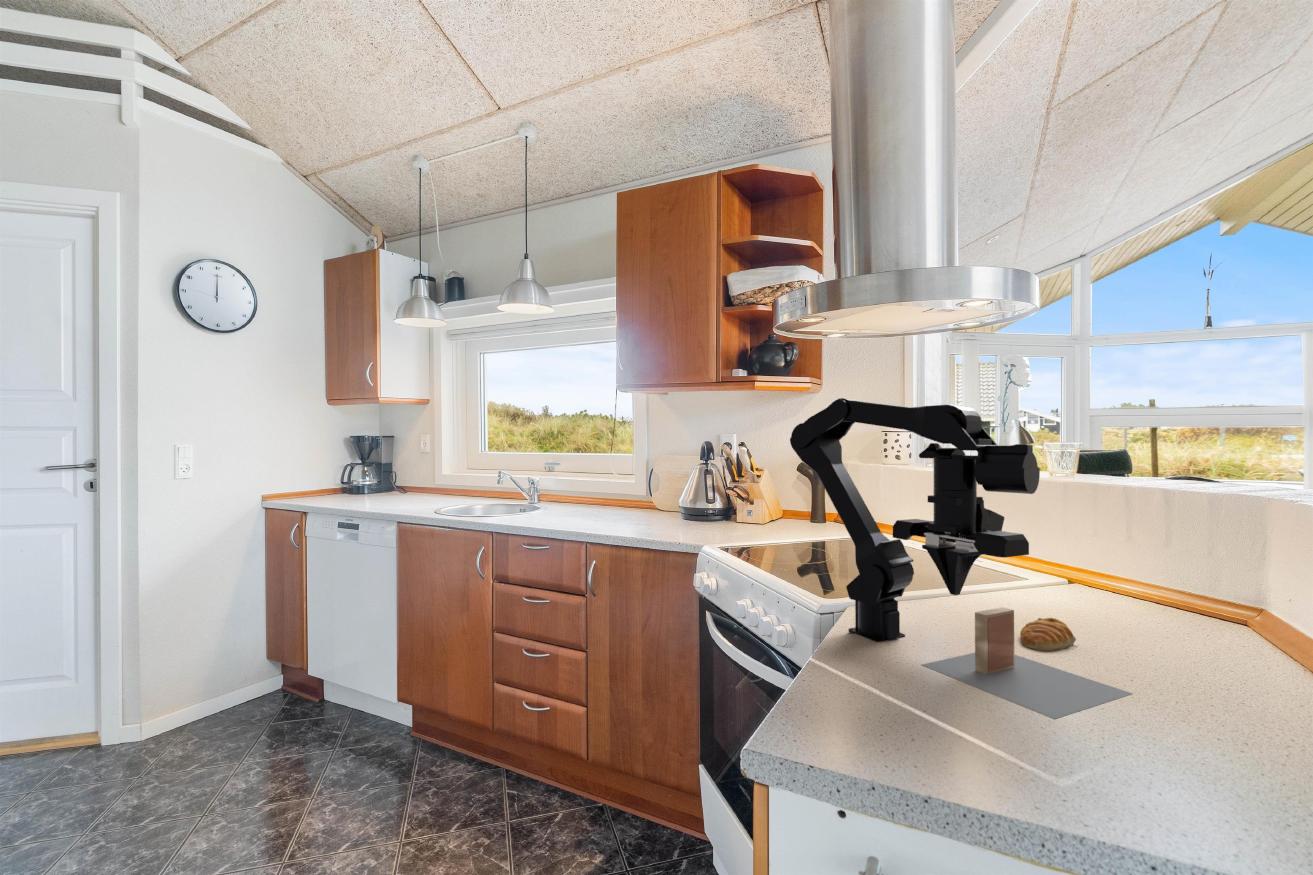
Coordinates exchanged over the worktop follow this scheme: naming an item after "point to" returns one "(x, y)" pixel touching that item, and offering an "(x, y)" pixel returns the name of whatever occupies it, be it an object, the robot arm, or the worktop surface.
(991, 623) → the tile
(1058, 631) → the pastry
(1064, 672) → the mat
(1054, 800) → the worktop surface
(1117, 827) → the worktop surface
